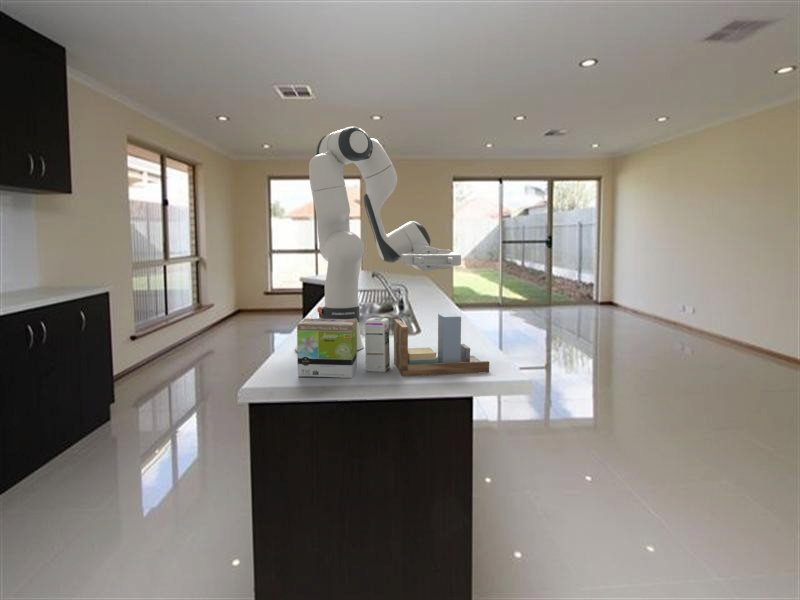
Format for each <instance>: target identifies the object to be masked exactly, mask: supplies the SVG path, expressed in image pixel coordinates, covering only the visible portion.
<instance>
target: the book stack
mask: <svg viewBox="0 0 800 600" xmlns="http://www.w3.org/2000/svg"><path fill="white" fill-rule="evenodd" d="M436 357H437V352H436V351H434V350H433V349H432V348H431V347H413V348H412V347H410V348H409V347H408V364H430V363H437V360H438V359H437V358H436Z"/></svg>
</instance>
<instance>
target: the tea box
mask: <svg viewBox="0 0 800 600" xmlns="http://www.w3.org/2000/svg"><path fill="white" fill-rule="evenodd" d="M296 325H297V326H296V329H297V330H296V335H297V336H296V340H297V341H296V345H297V351H296V355H297V358H296V359H297V361H296V362H297V377H298V378H301V377H316V378H317V377H321V378H337V379H338V378H340V379H341V378H342V379H352V378H353V376H354V374H355V373H356V370H357V367H358V365H357V363H358V362H357V361H358V360H357V359H358V350H357V320H352V319H319V318H306V317H305V318H304V319H303V320H302V321H300V322H299V323H298V324H296Z"/></svg>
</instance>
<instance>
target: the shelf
mask: <svg viewBox="0 0 800 600" xmlns="http://www.w3.org/2000/svg"><path fill="white" fill-rule="evenodd" d="M408 329H409V326H407V325H406V324H405V323H404V322H403V321H402V320H401V319H400V318H393V366H395V368H396V369H397V370H398V372H399V374H400V375H401V377H419V376H420V377H421V376H439V375H459V374H460V375H462V374H463V375H464V374H479V372H486V373H490V361H489V360H480V361H475V362H453V363H439V362H438V360H437V363H430V364H408V348H409V346H408V345H409V330H408ZM436 358H437V359H438V356H436ZM474 358H477V357H476V356H475V355H470V359H474Z"/></svg>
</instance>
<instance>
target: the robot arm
mask: <svg viewBox="0 0 800 600" xmlns="http://www.w3.org/2000/svg"><path fill="white" fill-rule="evenodd" d="M381 144H382V143H380V141H379V140H377V139H375V138H373V137H370V136H369V135H368V133H367V131H365V130H363V129H362V128H360V127H358V126H348V127H347V126H346V127H345V128H342V129H337V130H334V131H332V132H331V133H329V134H327V135H324V136H323V137H322V138H321V139H320V140H319V141H318V143H317V146H316V154H315V156H313V157H312V158H311V159H310V160H309V163H308V175H309V177H308V178H309V184H310V189H311V195H312V200H313V205H314V210H315V214H316V222H317V235H318V243H319V248H318V249H319V252H320V254H321V257H322V258H323V259H324V260H325V261H326V262H327V269H326V277H325V281H324V306H318V307H317V312H318V317H319V318H318V319H352V320H357V351H359V350H362V349H363V348H364V344H363V341H362V336H361V330H360V321H361V309H360V305H359V277H360V272H361V266H362V258H363V256H364V253H365V244H364V242H363V240H362V239H361V238H360V237H359V236H358V235H357V234H355V233H354V232H352V231H351V230H350V229H351V227H350V214H351V207H350V202H349V198H348V192H347V188H346V182H345V178H344V166H345V165H346V166H347V165H350V164H353V165H355V166H356V167H357V168H358V170H359V172H360V175H361V177H362V178H363V180H364V183H365V194H364V195H363V204H364V208H365V212H366V214H367V219H368V221H369V224H370V228H371V230H372V233H373V237H374V241H375V244H376V245H375V246H376V250H377V254H378V255H379V257H380V258H381V260H382V261H383V262H385V263H390V264H391V263H392V264H393V263H396V262H397V261H401V262H400V263H401V265H402V266H412V267H413V268H414V269H416V270H419V271H422V272H426V273H427V272H428V273H429V272H432V271H437V270H441V269H442V270H444V269H451V268H453V267H460V266H461V265H462V255H461V254H460V253H459V252H458V253H457V252H454V251H452V250H451V249H446V248H445V249H443V248H436V247H433V246H431V238H430V235H429V233H428V232H427V229H426V228H425V227H424V226H423V225H422V224H421V223H419V222H418V221H415V220H409V221H407V222H406V223H404V224H402V225H400V226H399V227H398V228H396V229H394V230H393V231H391V232H389V233H386V230H385V227H384V224H383V221H382V220H383V219H382V217H381V209H382V207H383V205H384V203H385V202H386V201H387V199H388V198H389V197H390V196H391V195H392V194H393V193H394V191H395V189H396V187H397V183H398V175H397V172H396V169H395V167H394V164H393V162H392V160H391V158H390V157H389V155H388V154H387V152H386V150H385V149H384V147H383V145H381ZM295 352H297V344H296V345H295Z"/></svg>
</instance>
